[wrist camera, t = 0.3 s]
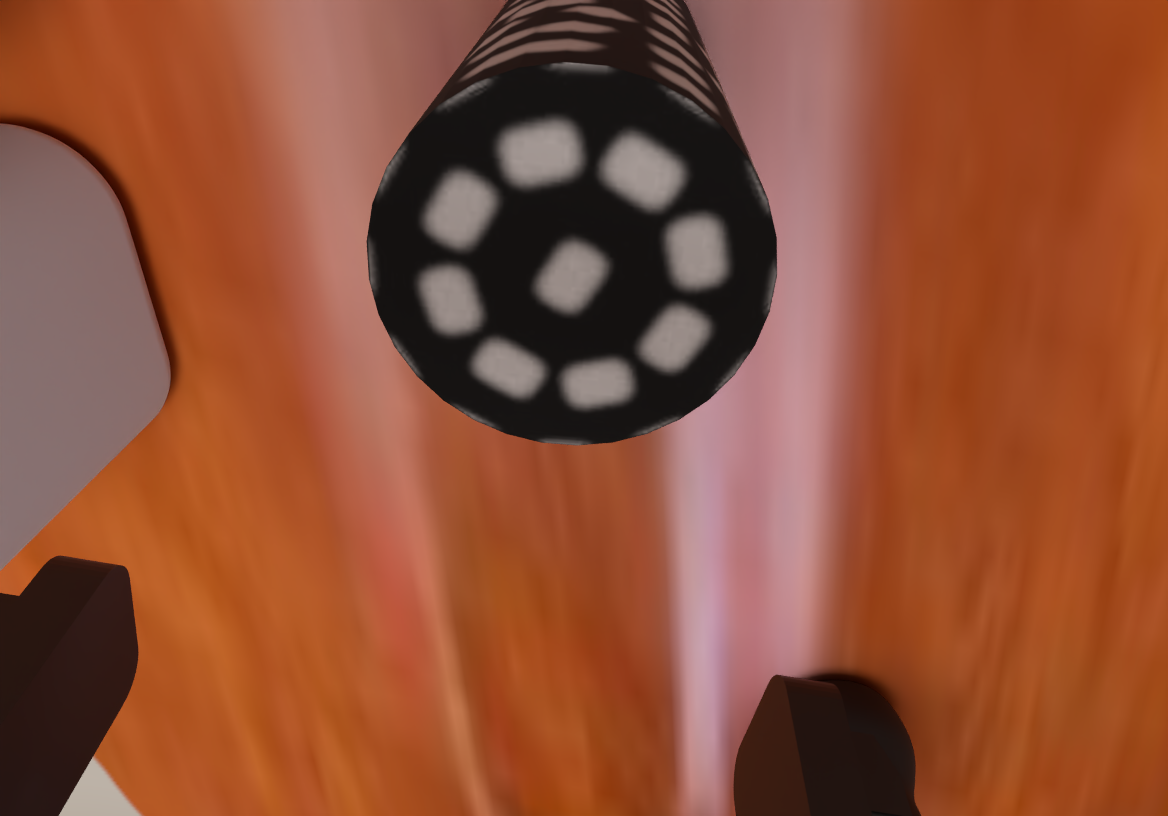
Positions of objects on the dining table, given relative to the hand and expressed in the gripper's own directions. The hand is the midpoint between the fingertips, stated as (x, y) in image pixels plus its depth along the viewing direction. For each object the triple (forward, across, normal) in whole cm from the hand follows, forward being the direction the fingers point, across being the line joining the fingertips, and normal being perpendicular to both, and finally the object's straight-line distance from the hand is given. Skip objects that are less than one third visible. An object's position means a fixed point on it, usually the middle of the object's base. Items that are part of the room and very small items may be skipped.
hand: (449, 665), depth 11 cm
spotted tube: (+29, -1, -1) cm, 29 cm away
